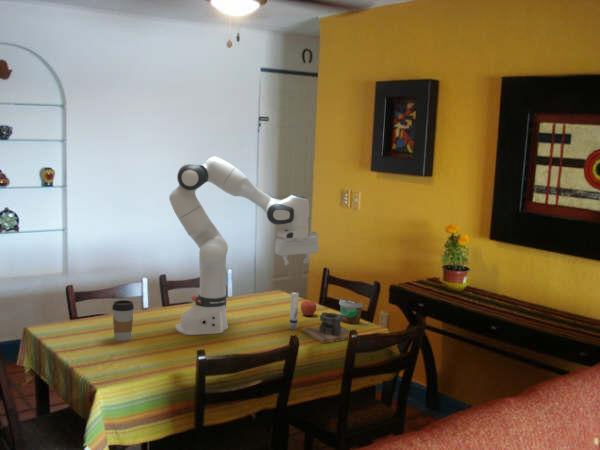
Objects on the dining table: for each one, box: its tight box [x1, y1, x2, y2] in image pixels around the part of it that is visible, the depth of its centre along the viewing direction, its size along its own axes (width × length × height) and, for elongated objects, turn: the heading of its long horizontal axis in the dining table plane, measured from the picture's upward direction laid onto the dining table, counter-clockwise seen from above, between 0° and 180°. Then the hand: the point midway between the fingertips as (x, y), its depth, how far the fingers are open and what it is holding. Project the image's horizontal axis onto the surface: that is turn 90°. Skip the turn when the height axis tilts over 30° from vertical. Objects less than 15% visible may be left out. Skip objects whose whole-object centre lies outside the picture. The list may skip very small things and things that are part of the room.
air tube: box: [289, 291, 299, 331], centre depth 300 cm, size 3×3×16 cm
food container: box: [338, 297, 364, 325], centre depth 315 cm, size 12×6×10 cm, turn 47°
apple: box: [300, 300, 317, 317], centre depth 322 cm, size 7×7×8 cm
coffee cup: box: [111, 299, 135, 342], centre depth 275 cm, size 8×8×15 cm
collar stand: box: [301, 311, 351, 344], centre depth 294 cm, size 18×16×8 cm
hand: (296, 264), depth 297 cm, fingers open, 8 cm apart
